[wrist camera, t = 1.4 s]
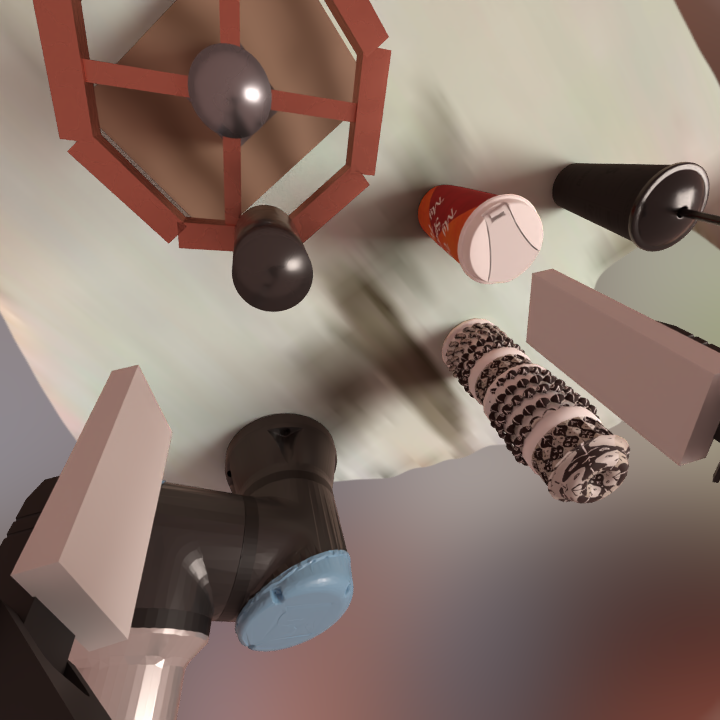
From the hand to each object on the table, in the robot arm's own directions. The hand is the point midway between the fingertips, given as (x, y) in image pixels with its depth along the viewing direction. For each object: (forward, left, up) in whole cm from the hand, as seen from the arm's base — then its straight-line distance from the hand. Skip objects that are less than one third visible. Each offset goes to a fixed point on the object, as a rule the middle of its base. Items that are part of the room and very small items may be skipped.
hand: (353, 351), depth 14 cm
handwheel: (+2, +8, -24) cm, 25 cm away
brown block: (+2, +8, -33) cm, 34 cm away
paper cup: (+12, -13, -33) cm, 38 cm away
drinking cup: (+26, -21, -33) cm, 47 cm away
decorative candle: (+6, -31, -33) cm, 46 cm away
